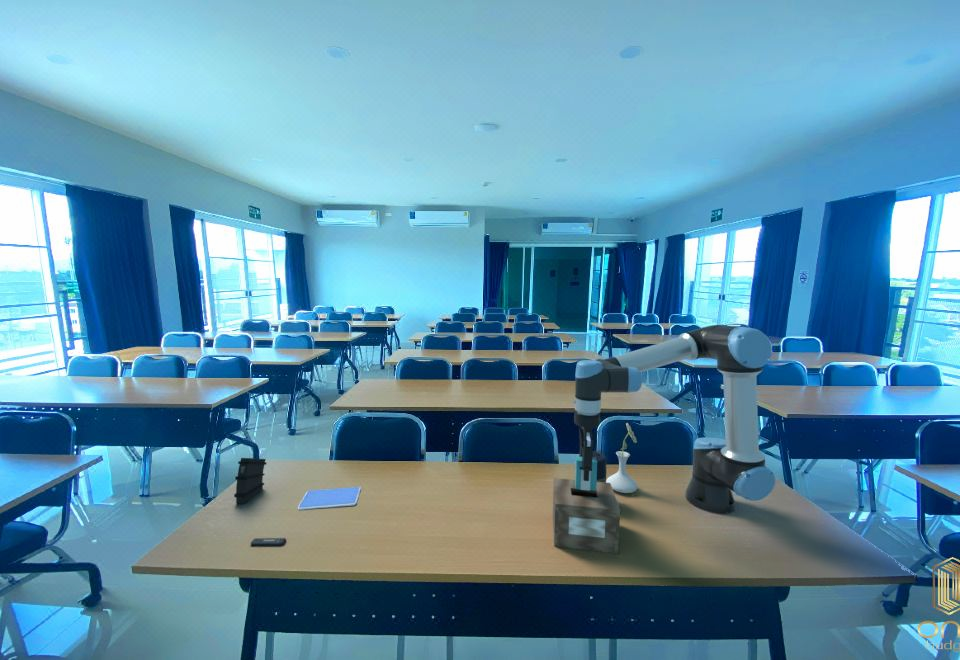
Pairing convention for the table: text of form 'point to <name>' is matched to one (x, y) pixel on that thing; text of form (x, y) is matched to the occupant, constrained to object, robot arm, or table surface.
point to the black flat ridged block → (249, 479)
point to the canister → (600, 466)
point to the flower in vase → (623, 470)
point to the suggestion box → (585, 517)
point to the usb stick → (268, 542)
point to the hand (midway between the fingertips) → (584, 486)
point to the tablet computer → (330, 498)
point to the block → (578, 474)
